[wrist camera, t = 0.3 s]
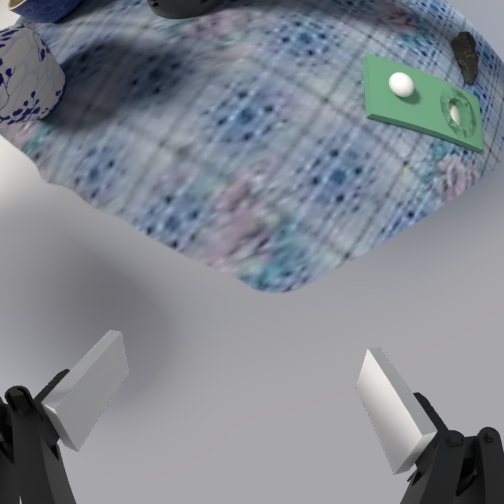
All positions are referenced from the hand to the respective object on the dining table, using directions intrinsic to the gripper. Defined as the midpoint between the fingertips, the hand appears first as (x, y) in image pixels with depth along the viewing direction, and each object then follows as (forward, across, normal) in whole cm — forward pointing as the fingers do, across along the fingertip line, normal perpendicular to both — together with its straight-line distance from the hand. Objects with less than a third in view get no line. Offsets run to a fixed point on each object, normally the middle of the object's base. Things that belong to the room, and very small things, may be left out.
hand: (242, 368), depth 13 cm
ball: (+23, +20, +28) cm, 41 cm away
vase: (+28, -42, +29) cm, 58 cm away
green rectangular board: (+27, +28, +28) cm, 48 cm away
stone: (+28, +41, +44) cm, 66 cm away
